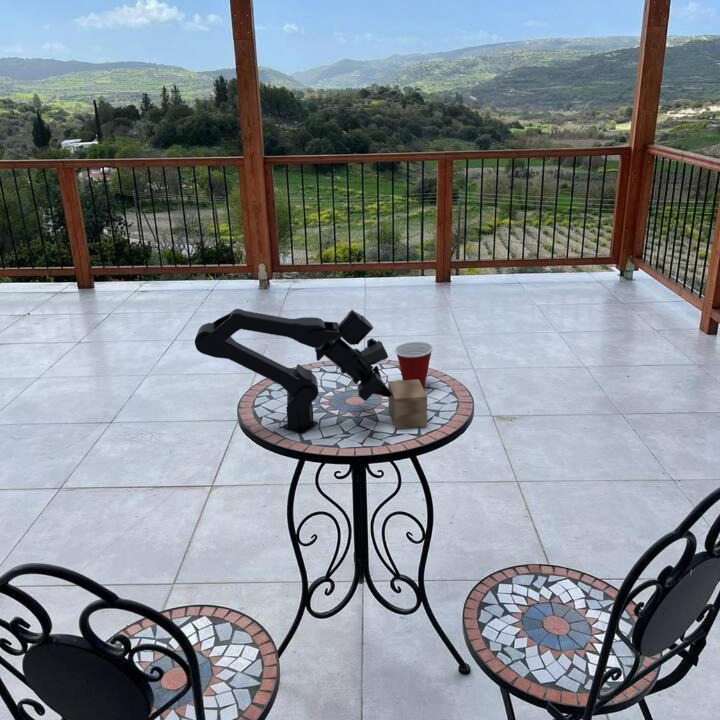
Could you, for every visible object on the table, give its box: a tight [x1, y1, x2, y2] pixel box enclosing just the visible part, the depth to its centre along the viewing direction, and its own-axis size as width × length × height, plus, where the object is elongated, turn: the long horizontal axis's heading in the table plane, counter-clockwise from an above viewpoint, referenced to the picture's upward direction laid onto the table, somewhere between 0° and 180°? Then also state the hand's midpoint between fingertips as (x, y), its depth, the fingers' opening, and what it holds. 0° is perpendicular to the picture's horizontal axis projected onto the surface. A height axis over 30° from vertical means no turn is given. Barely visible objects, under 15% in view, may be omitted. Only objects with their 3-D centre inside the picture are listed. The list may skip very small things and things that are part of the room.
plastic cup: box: [393, 341, 434, 389], centre depth 190 cm, size 11×11×12 cm
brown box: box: [387, 379, 428, 429], centre depth 171 cm, size 8×11×8 cm
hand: (390, 395), depth 170 cm, fingers closed, pressing on brown box
